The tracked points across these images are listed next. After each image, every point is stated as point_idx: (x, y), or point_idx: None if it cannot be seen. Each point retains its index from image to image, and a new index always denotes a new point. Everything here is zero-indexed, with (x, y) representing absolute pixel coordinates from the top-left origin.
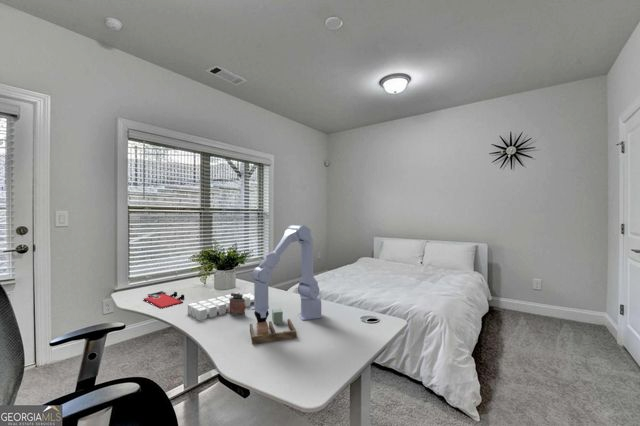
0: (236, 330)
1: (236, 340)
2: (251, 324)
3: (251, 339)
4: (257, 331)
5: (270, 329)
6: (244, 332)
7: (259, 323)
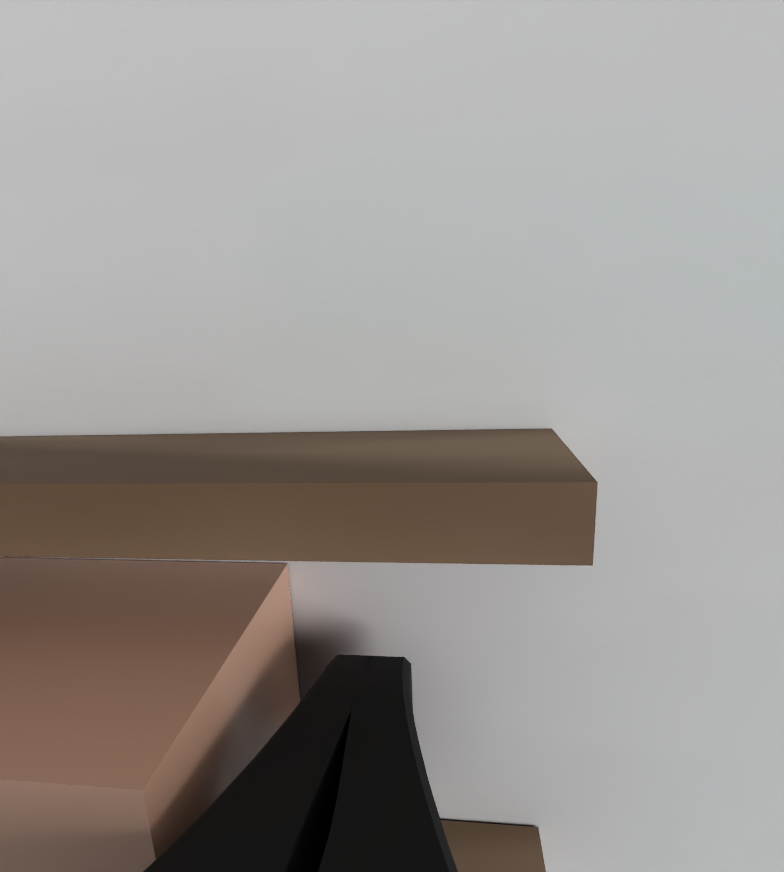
0: (676, 33)
1: (20, 80)
2: (514, 535)
3: (12, 437)
4: (4, 638)
5: None
6: (448, 287)
7: (54, 863)
